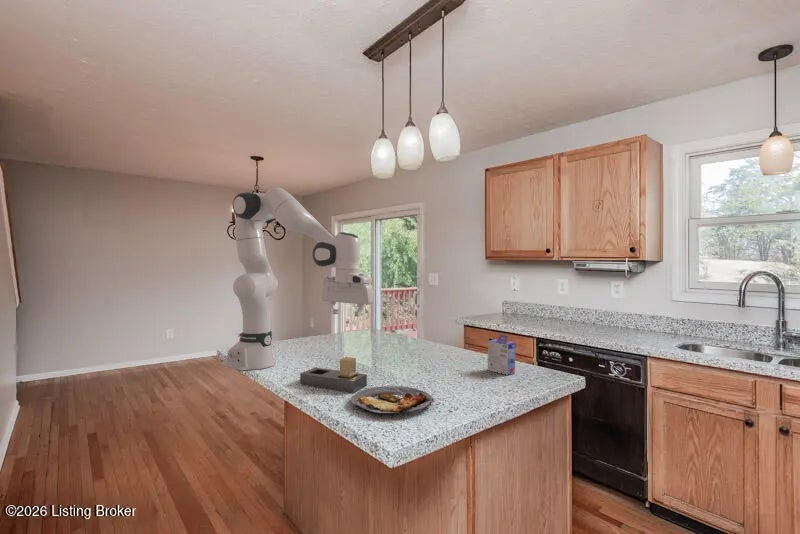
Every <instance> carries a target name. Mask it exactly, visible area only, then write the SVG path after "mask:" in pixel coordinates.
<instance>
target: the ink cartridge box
mask: <svg viewBox="0 0 800 534" xmlns="http://www.w3.org/2000/svg"><path fill="white" fill-rule="evenodd" d="M507 340H508V335H505V334H504V335H503V334H499V337H498V339H491V340H488V341H487V342H488V343H487V345H488V346H487V371H489V372H494V373H497V372H498V374H501V373H502V375H505V374H506V375H505V376H509V375H508V374H510V375H512V374H511V373H515V374H516V346H517V345H516V342H514V341H513V342H512V341H507Z"/></svg>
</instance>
